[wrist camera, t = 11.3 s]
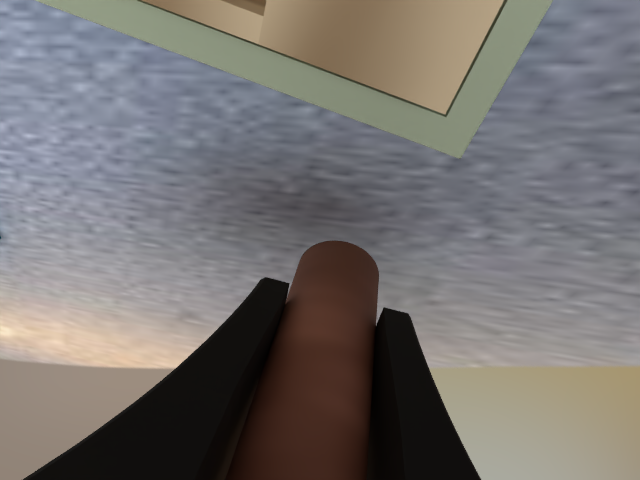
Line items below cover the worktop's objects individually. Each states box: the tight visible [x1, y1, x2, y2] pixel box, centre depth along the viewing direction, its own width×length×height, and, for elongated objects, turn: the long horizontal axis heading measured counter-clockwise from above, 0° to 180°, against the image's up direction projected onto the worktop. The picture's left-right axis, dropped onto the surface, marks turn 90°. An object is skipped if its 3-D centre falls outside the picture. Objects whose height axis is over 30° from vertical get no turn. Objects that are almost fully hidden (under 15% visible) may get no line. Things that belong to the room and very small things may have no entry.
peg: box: [225, 241, 379, 480], centre depth 8 cm, size 2×2×7 cm
